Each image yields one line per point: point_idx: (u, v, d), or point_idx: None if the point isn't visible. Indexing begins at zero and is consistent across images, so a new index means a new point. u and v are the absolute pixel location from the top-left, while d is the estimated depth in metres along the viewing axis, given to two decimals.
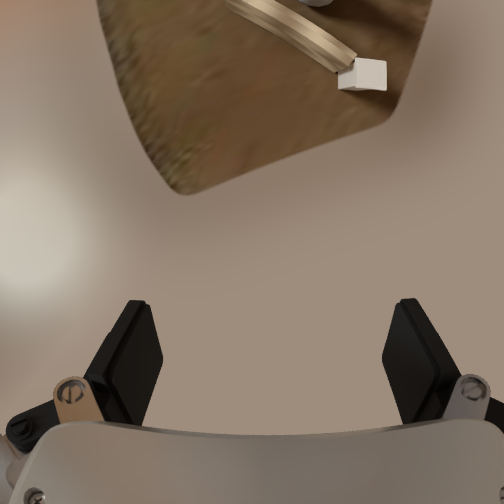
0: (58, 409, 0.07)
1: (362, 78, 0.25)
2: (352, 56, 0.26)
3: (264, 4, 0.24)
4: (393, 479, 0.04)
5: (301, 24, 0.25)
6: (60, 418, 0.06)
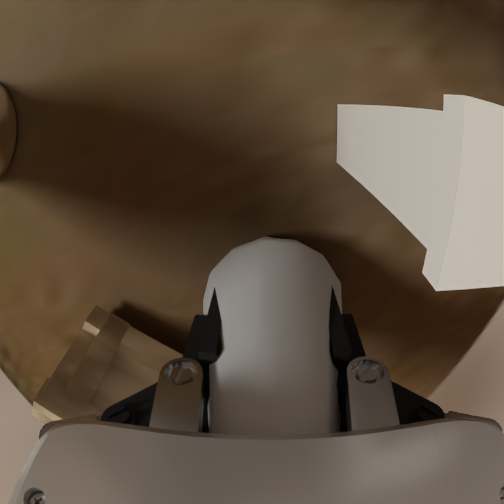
0: (159, 385, 0.08)
1: None
2: None
3: None
4: (393, 479, 0.04)
5: None
6: (156, 394, 0.07)
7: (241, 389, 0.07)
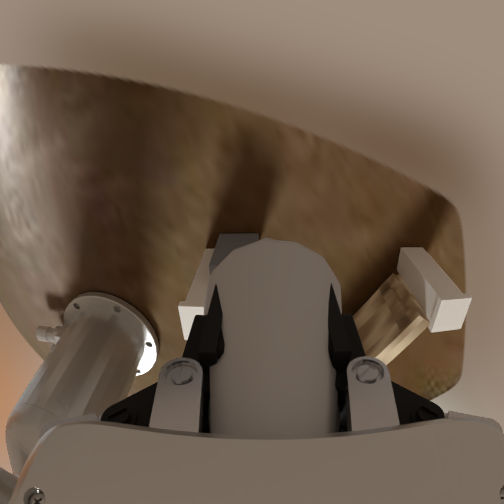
0: (159, 385, 0.08)
1: (453, 324, 0.21)
2: (420, 320, 0.23)
3: None
4: (393, 479, 0.04)
5: None
6: (156, 394, 0.07)
7: (241, 390, 0.07)
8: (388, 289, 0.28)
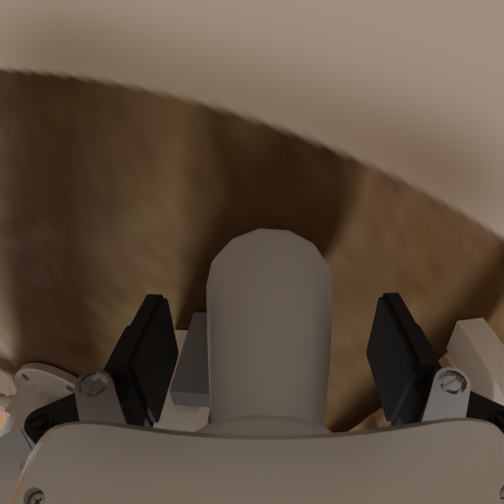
0: (78, 401, 0.07)
1: None
2: None
3: None
4: (393, 479, 0.04)
5: None
6: (79, 410, 0.07)
7: (237, 353, 0.09)
8: None
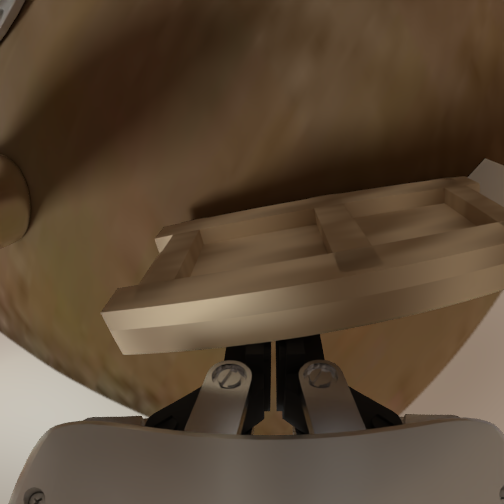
0: (204, 386, 0.08)
1: None
2: None
3: (265, 320, 0.08)
4: (393, 479, 0.04)
5: (414, 288, 0.08)
6: (200, 395, 0.07)
7: None
8: (458, 185, 0.12)
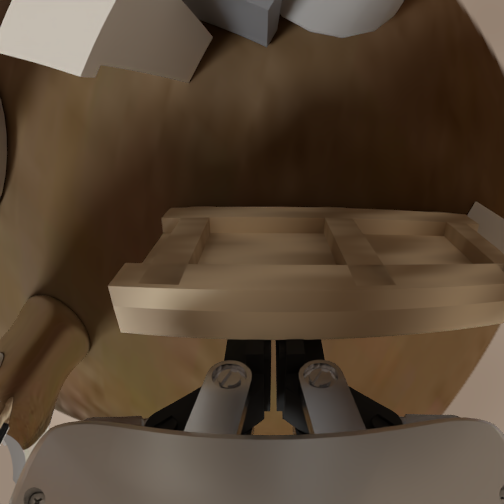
0: (204, 386, 0.08)
1: None
2: None
3: (277, 318, 0.09)
4: (393, 479, 0.04)
5: (416, 310, 0.08)
6: (199, 395, 0.07)
7: None
8: (459, 222, 0.13)
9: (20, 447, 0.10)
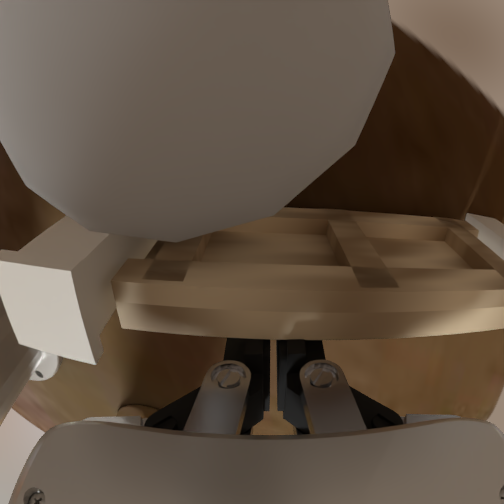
0: (203, 386, 0.08)
1: None
2: None
3: (281, 318, 0.09)
4: (393, 479, 0.04)
5: (418, 313, 0.09)
6: (199, 395, 0.07)
7: None
8: (460, 228, 0.13)
9: None
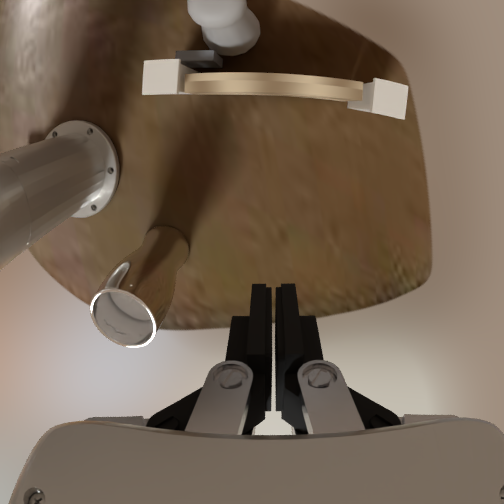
0: (205, 386, 0.08)
1: (395, 111, 0.23)
2: (359, 87, 0.23)
3: (241, 82, 0.24)
4: (393, 479, 0.04)
5: (291, 83, 0.24)
6: (201, 395, 0.07)
7: None
8: None
9: (162, 277, 0.29)
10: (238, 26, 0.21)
